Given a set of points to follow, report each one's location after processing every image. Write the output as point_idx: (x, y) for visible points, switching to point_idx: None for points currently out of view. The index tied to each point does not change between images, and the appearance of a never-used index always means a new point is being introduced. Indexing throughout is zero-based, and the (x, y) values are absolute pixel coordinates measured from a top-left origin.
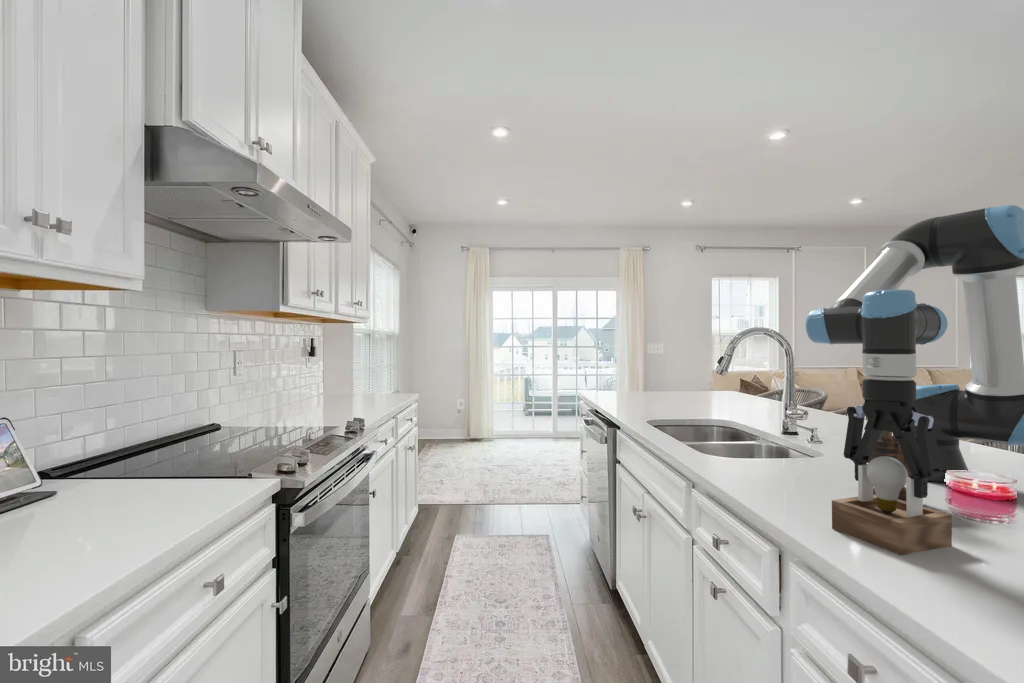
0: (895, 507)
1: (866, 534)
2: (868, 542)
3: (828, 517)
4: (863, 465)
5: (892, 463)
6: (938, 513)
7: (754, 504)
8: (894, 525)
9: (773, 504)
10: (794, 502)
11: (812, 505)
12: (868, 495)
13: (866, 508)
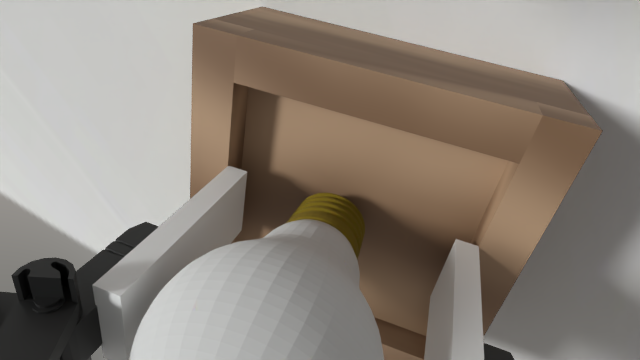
0: (360, 233)
1: None
2: None
3: (170, 136)
4: (116, 348)
5: None
6: (534, 163)
7: (31, 196)
8: None
9: (37, 152)
10: (26, 70)
11: (61, 46)
12: (232, 211)
13: (265, 211)
